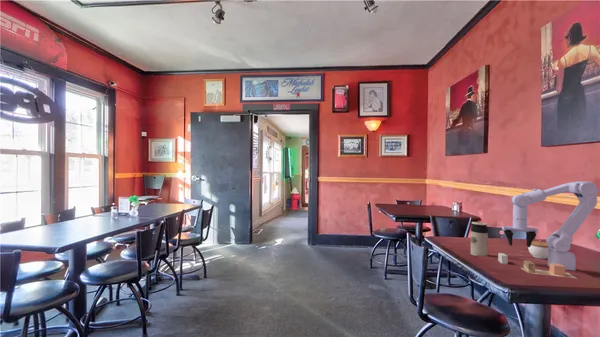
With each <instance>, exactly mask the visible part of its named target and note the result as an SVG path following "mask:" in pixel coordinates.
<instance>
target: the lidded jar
mask: <svg viewBox="0 0 600 337" xmlns="http://www.w3.org/2000/svg"><path fill="white" fill-rule="evenodd" d="M548 247H549V246H548V245H547V243H546V241H545V242H544V241H542V240H541V239H539V240H533V241H532V243H531V246H530V247H528V246H527V248H528V252H529V253H530V255H531V256H532V257H534V258H535V259H541V260H548Z"/></svg>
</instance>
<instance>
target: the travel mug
mask: <svg viewBox="0 0 600 337" xmlns="http://www.w3.org/2000/svg"><path fill="white" fill-rule="evenodd" d="M487 227H488V223H486V222H480V221H472V222H471V227H470V255H471V256H473V257H476V258H478V256H482V257H488V255H489V254H488V248H489V229H488V228H487Z"/></svg>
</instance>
